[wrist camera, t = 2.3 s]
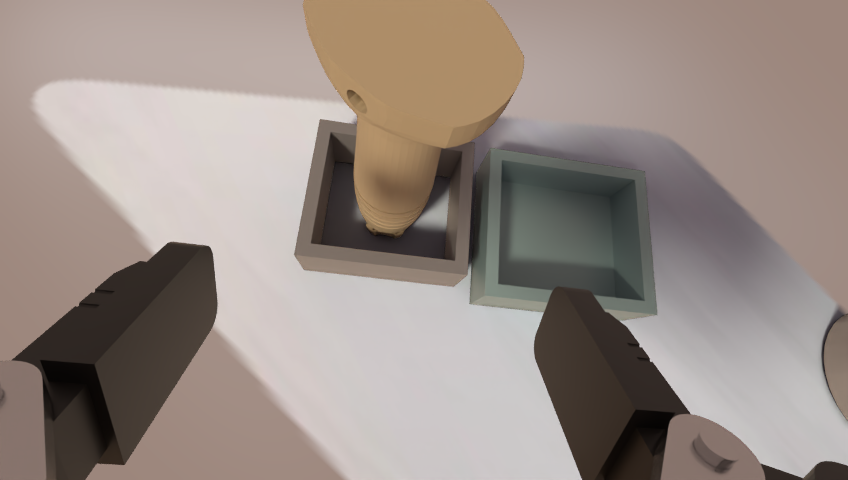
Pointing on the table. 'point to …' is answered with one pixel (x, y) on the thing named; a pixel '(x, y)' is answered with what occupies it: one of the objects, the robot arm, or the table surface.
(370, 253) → the open rectangular frame
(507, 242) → the parts tray
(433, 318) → the table surface
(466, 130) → the handle
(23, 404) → the robot arm
